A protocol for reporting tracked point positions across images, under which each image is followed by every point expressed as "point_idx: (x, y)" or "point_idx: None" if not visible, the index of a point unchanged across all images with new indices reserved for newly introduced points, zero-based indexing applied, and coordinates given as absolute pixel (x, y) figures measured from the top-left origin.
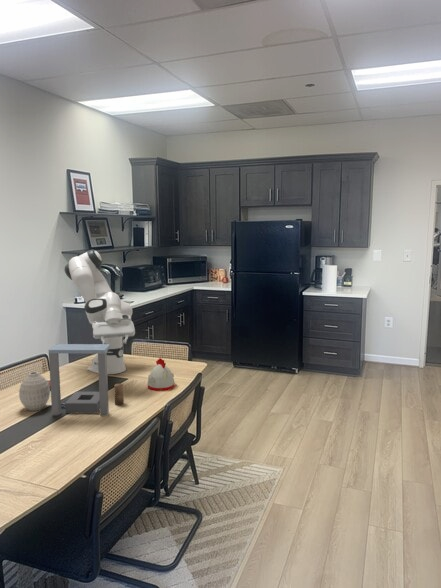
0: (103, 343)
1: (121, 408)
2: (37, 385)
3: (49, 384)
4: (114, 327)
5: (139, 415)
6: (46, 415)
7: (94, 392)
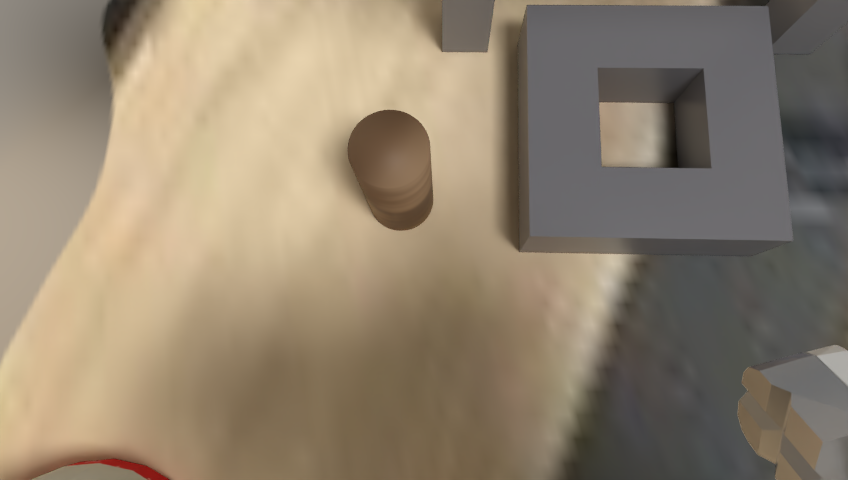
0: (835, 346)
1: None
2: None
3: None
4: None
5: (235, 13)
6: None
7: (616, 219)
